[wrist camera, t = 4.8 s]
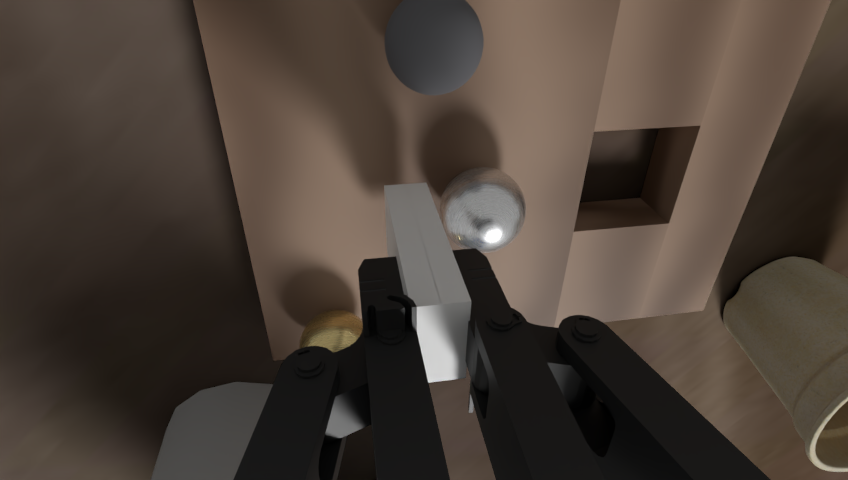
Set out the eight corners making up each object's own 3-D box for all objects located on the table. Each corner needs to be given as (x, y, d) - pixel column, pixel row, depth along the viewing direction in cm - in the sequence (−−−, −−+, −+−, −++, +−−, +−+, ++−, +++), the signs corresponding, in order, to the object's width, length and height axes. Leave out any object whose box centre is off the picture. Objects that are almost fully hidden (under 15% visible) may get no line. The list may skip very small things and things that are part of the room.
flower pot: (868, 274, 31) (1034, 382, 24) (743, 369, 34) (855, 489, 27) (803, 202, 27) (979, 306, 19) (667, 318, 30) (776, 444, 23)
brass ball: (305, 349, 23) (302, 401, 20) (296, 299, 21) (292, 349, 19) (370, 341, 23) (375, 392, 21) (366, 291, 22) (372, 340, 19)
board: (277, 324, 25) (273, 360, 23) (202, -41, 16) (185, -35, 14) (675, 281, 28) (703, 310, 26) (791, -42, 19) (846, -37, 17)
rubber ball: (381, 82, 17) (392, 110, 14) (377, -17, 15) (388, -4, 13) (467, 79, 17) (491, 105, 15) (472, -18, 16) (500, -6, 13)
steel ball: (531, 267, 18) (512, 222, 21) (540, 189, 16) (518, 150, 19) (444, 273, 18) (436, 227, 21) (443, 195, 16) (435, 155, 19)
